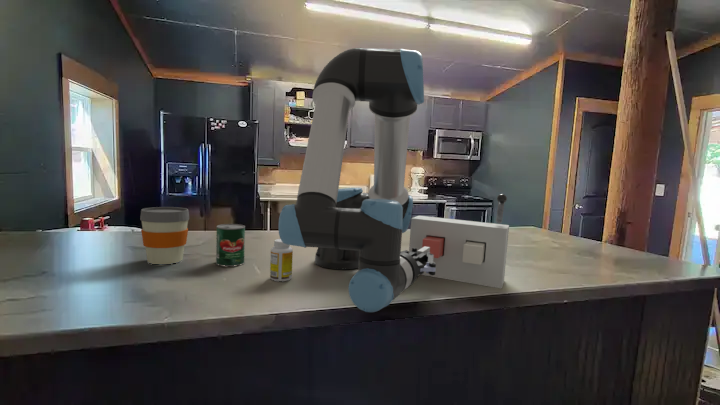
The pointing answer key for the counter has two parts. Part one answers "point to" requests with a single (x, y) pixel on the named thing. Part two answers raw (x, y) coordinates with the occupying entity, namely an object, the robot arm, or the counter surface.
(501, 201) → the toggle lever
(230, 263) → the canned tomato
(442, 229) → the console
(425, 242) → the red button
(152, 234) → the reusable coffee cup
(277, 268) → the supplement bottle
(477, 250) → the ivory button
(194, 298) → the counter surface
